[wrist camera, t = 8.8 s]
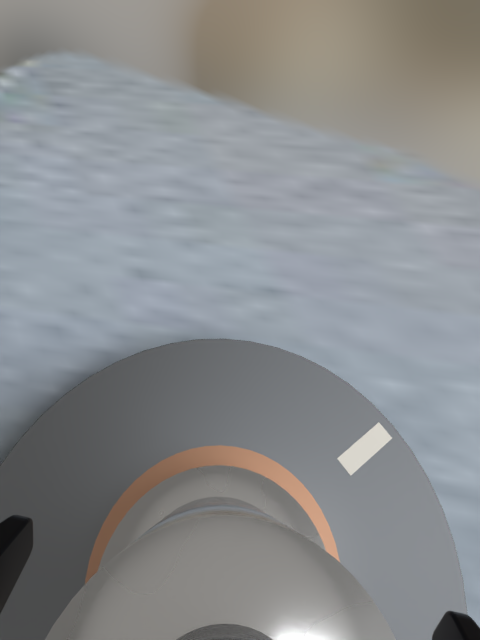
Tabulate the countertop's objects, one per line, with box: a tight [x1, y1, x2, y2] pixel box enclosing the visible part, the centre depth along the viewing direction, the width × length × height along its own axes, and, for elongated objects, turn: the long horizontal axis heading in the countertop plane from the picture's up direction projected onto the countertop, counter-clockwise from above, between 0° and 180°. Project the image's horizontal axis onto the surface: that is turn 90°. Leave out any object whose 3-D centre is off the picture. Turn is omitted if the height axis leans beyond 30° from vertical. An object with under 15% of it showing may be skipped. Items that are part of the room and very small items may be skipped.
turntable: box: [0, 339, 468, 640], centre depth 14 cm, size 18×18×1 cm
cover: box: [45, 465, 396, 640], centre depth 9 cm, size 8×8×10 cm
